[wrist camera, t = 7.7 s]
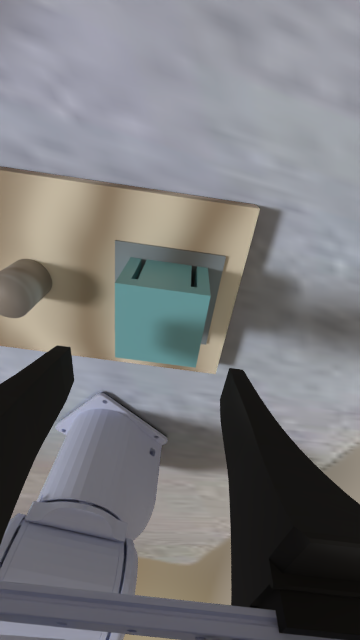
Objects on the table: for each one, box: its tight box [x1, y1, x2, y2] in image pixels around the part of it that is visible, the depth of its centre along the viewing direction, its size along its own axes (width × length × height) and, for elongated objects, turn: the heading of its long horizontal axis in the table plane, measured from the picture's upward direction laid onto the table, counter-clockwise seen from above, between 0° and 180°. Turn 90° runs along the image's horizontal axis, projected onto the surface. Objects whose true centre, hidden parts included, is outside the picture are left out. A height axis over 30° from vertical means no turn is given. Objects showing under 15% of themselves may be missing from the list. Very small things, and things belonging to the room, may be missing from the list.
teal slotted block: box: [115, 257, 211, 368], centre depth 17 cm, size 5×5×4 cm
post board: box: [0, 167, 260, 374], centre depth 18 cm, size 19×13×4 cm
